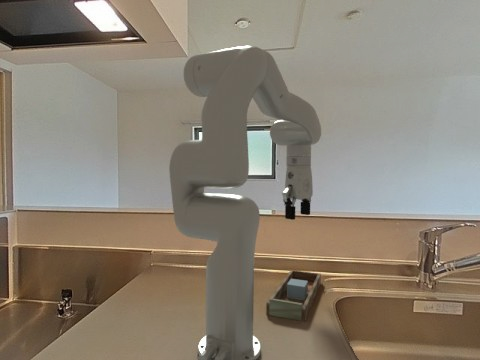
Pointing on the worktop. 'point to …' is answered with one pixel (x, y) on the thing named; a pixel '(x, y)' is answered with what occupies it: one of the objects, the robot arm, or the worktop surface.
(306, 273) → the open box
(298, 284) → the block
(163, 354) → the worktop surface
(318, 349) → the worktop surface
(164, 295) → the worktop surface
